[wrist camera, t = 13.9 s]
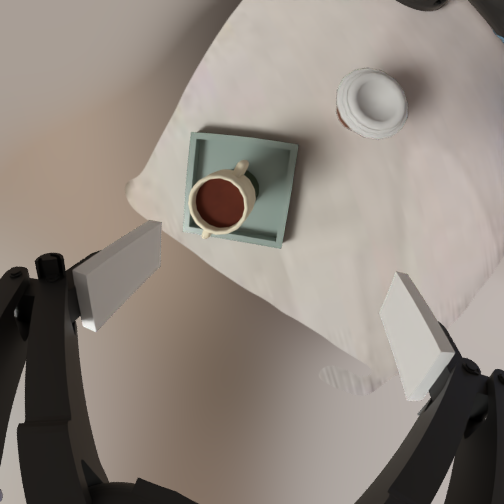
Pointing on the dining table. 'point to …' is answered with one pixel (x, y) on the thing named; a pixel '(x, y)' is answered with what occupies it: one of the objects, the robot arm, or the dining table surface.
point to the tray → (261, 166)
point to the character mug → (223, 199)
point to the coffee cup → (371, 104)
